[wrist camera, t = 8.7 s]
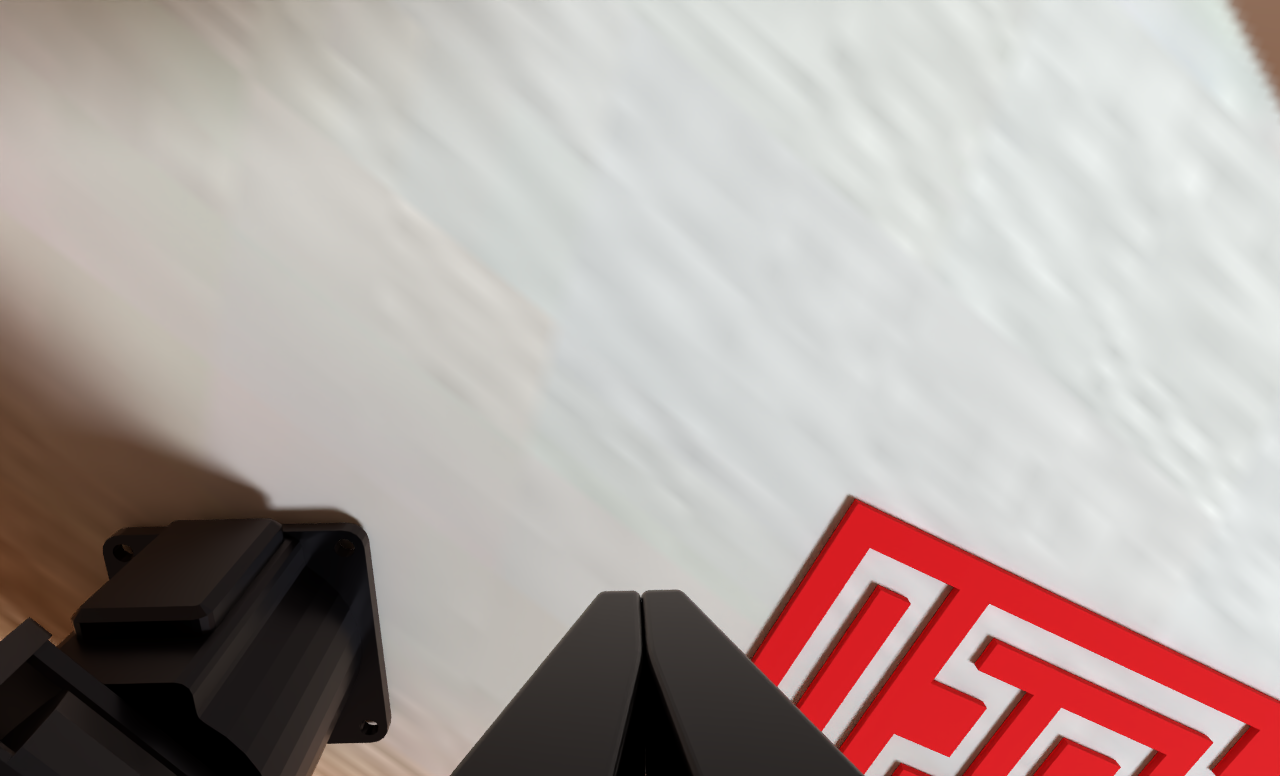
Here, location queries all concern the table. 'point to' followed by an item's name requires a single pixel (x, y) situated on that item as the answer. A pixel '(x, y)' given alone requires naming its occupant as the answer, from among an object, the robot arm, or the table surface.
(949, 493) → the table surface
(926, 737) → the maze puzzle
